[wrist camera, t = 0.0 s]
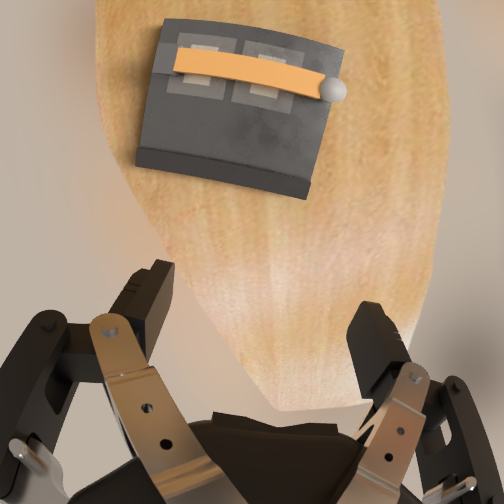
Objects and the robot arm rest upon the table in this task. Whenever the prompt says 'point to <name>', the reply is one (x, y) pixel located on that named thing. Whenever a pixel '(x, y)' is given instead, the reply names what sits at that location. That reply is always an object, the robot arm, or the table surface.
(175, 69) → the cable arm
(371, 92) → the table surface
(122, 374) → the robot arm
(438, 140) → the table surface
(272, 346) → the table surface
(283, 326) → the table surface
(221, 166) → the plate
